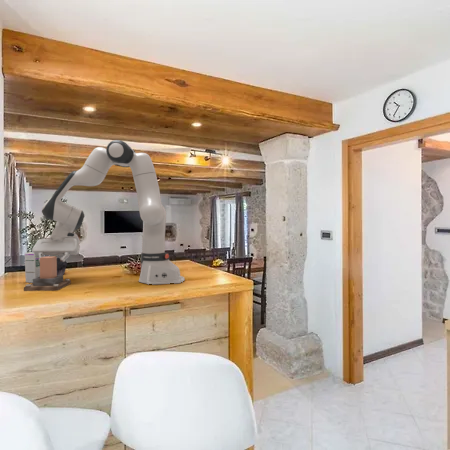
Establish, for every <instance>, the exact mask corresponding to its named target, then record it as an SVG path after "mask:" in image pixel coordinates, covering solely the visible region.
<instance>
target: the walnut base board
mask: <svg viewBox="0 0 450 450" xmlns="http://www.w3.org/2000/svg"><path fill="white" fill-rule="evenodd" d="M71 284H72V281H71V280H70V278H65V279H64V275H57V277H55V278H53V279H40V277H37V278H34V279H33V283H28V284H25V285H24V287H23V292H27V291H29V292H32V291H34V292H35V291H36V292H37V291H38V292H39V291H43V292H44V291H60V290H61V289H63V288H65V287H67V286H69V285H71Z"/></svg>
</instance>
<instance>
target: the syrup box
mask: <svg viewBox="0 0 450 450" xmlns="http://www.w3.org/2000/svg"><path fill="white" fill-rule="evenodd" d="M43 257H45V255H44V256H43ZM39 258H40V257H39V255H35V254H34V253H33V251H29V252H25V253H24V269H25V283H28V284H33V279H34V278H37V277H40V262H39Z"/></svg>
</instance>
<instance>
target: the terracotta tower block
mask: <svg viewBox="0 0 450 450" xmlns="http://www.w3.org/2000/svg"><path fill="white" fill-rule="evenodd" d="M57 258H58V255H44V257H41V258H40V279H53V278H55V277H57Z"/></svg>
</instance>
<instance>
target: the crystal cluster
mask: <svg viewBox="0 0 450 450" xmlns="http://www.w3.org/2000/svg"><path fill="white" fill-rule="evenodd" d="M60 259H61V257H57V275H63V276H64V274H65V272H66V268H67V265H68V263H67V261H66V260H65V262H61V261H60Z"/></svg>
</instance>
